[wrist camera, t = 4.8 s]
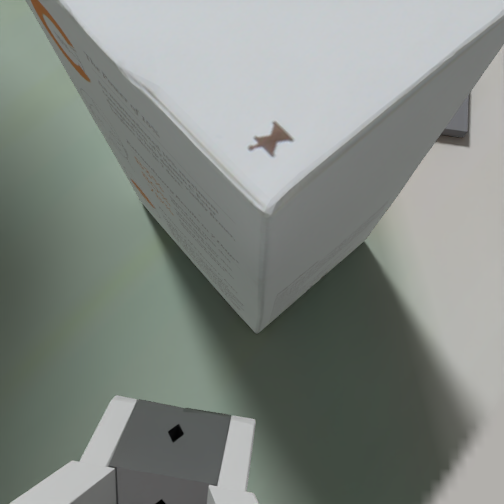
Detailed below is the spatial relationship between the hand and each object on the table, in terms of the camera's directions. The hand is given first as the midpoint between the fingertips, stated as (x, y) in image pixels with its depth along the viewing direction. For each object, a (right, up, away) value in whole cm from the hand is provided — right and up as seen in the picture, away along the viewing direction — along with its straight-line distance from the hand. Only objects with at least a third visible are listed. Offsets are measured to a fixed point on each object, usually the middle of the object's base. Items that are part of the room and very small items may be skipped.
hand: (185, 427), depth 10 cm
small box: (+1, +5, +11) cm, 12 cm away
